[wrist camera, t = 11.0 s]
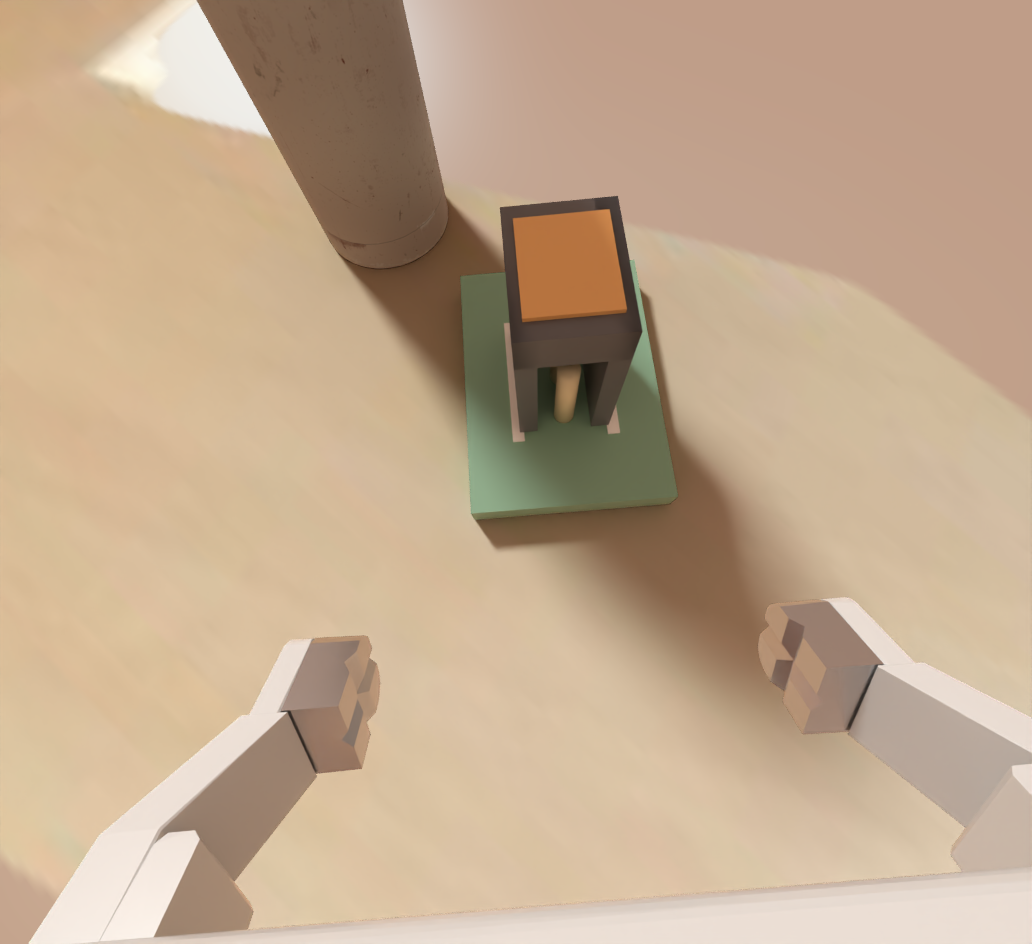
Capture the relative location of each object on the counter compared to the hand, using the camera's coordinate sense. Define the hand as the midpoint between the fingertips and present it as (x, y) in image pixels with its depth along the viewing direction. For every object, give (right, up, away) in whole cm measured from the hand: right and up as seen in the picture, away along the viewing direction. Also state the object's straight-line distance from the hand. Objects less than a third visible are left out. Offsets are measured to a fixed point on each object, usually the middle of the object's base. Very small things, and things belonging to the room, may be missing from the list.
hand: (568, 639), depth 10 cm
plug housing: (+1, +8, +15) cm, 17 cm away
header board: (+1, +8, +16) cm, 18 cm away
